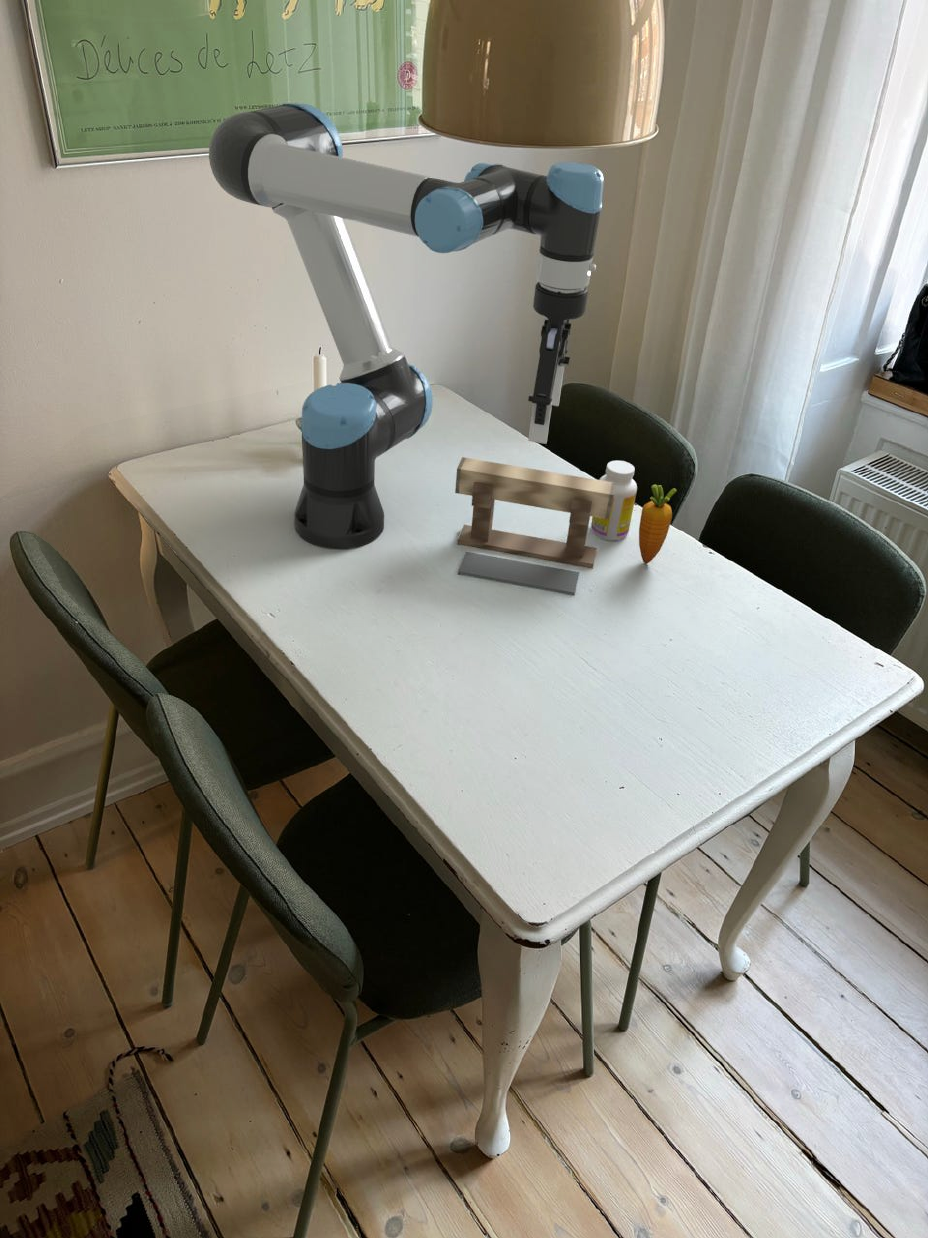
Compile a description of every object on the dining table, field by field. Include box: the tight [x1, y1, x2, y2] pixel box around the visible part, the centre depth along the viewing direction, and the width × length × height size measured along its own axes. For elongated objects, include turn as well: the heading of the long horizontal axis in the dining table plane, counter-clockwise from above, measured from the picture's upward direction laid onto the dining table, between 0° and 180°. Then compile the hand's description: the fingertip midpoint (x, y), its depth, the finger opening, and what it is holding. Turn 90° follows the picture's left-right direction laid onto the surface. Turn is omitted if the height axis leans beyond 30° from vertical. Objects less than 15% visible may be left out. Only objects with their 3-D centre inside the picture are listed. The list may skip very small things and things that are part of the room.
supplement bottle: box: [590, 460, 638, 542], centre depth 167 cm, size 7×7×13 cm
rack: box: [456, 482, 598, 570], centre depth 160 cm, size 23×7×12 cm, turn 78°
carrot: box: [638, 484, 678, 565], centre depth 159 cm, size 5×5×15 cm
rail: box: [454, 456, 616, 519], centre depth 157 cm, size 25×4×4 cm, turn 78°
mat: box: [457, 551, 580, 596], centre depth 158 cm, size 19×6×1 cm, turn 78°
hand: (544, 422), depth 150 cm, fingers open, 13 cm apart
